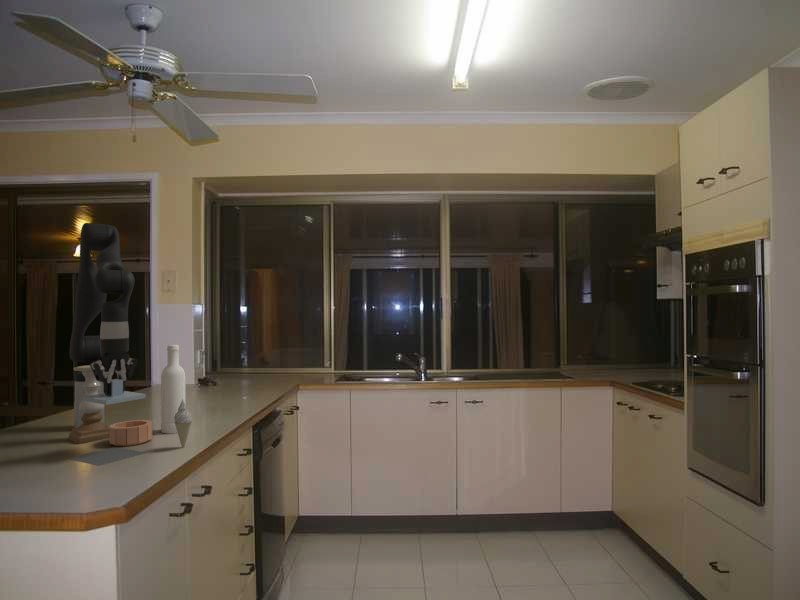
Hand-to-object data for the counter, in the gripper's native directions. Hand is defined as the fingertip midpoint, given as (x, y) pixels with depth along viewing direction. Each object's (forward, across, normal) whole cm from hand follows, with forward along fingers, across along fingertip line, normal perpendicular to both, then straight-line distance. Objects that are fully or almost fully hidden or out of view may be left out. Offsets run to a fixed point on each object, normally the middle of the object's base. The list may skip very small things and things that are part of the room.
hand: (114, 394), depth 155 cm
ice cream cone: (+17, -12, +16) cm, 26 cm away
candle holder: (+18, -6, -23) cm, 29 cm away
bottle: (+18, -25, -7) cm, 32 cm away
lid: (+2, 0, 0) cm, 2 cm away
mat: (+17, +5, +5) cm, 18 cm away
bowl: (+17, -8, -5) cm, 20 cm away
